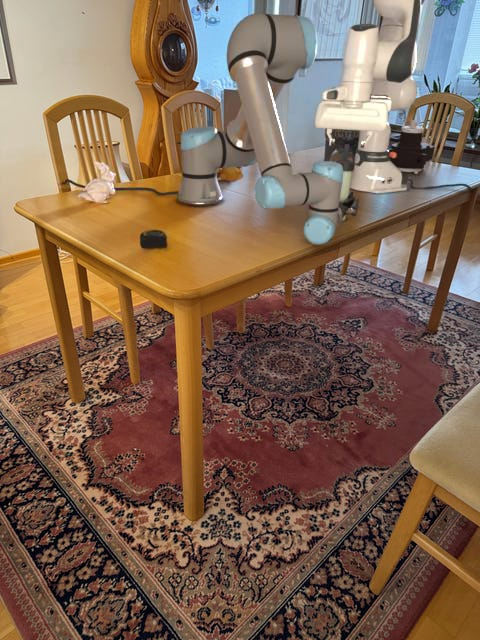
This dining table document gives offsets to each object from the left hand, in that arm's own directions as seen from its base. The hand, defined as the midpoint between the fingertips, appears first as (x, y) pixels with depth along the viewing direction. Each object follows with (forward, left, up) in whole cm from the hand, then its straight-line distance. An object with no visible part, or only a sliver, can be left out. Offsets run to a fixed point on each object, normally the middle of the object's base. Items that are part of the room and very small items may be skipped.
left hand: (343, 195), depth 144 cm
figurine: (-78, -21, -6) cm, 81 cm away
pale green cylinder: (0, -5, -6) cm, 8 cm away
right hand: (0, -6, +15) cm, 16 cm away
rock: (-16, +114, -6) cm, 116 cm away
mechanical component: (+17, +83, -6) cm, 85 cm away
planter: (-13, +74, -6) cm, 75 cm away
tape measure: (-39, -51, -6) cm, 64 cm away
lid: (0, -5, +11) cm, 12 cm away
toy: (-50, +28, -6) cm, 58 cm away
